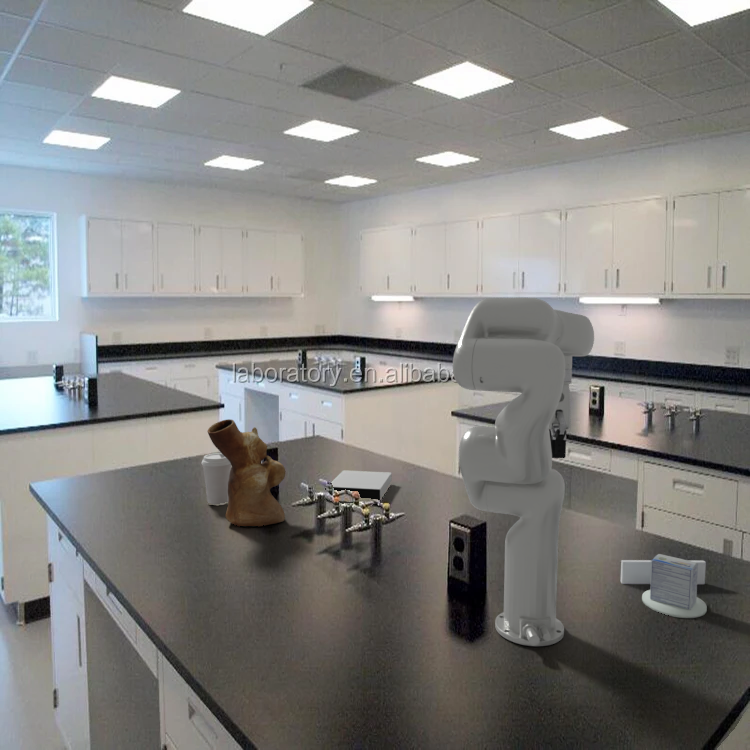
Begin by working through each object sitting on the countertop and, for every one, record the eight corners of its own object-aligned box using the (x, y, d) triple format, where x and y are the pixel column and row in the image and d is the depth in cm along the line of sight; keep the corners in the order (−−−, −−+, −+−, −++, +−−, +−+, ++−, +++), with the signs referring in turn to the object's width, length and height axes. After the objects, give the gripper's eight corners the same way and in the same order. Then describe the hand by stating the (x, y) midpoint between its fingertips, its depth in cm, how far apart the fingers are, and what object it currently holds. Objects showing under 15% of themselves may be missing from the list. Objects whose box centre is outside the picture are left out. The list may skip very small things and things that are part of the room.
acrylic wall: (704, 584, 140) (705, 562, 139) (622, 583, 140) (622, 561, 139) (702, 582, 141) (703, 560, 140) (620, 581, 141) (621, 560, 140)
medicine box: (696, 603, 129) (698, 562, 128) (690, 611, 126) (693, 569, 125) (656, 592, 134) (657, 552, 133) (649, 599, 131) (651, 559, 130)
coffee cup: (229, 508, 194) (228, 459, 192) (198, 507, 194) (197, 459, 192) (237, 498, 203) (236, 452, 202) (207, 498, 203) (205, 452, 202)
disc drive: (325, 502, 201) (324, 486, 200) (342, 483, 223) (342, 469, 222) (379, 505, 197) (379, 490, 197) (392, 486, 219) (392, 471, 219)
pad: (718, 618, 124) (718, 615, 124) (656, 617, 124) (656, 615, 124) (689, 591, 136) (689, 588, 136) (632, 590, 136) (633, 588, 136)
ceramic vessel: (294, 523, 180) (293, 418, 177) (220, 538, 168) (217, 426, 165) (270, 508, 193) (269, 410, 190) (200, 522, 181) (197, 418, 178)
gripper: (583, 380, 131) (580, 462, 133) (560, 372, 148) (558, 444, 150) (546, 380, 131) (544, 462, 133) (527, 372, 148) (526, 444, 150)
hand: (551, 452), depth 142 cm, fingers open, 9 cm apart
